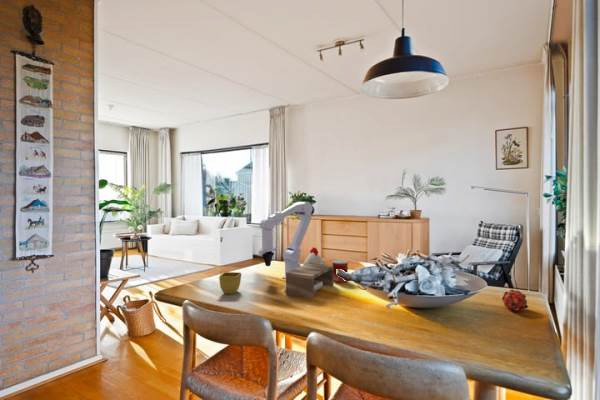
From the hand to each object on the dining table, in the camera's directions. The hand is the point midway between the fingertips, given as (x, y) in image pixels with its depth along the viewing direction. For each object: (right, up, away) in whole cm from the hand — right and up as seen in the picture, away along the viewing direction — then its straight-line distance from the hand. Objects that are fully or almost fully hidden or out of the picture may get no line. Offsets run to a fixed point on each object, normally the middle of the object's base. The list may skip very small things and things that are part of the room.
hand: (267, 265), depth 184 cm
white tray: (+19, -9, -15) cm, 26 cm away
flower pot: (-16, -10, -19) cm, 27 cm away
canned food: (+39, -8, -1) cm, 40 cm away
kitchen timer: (+26, -8, +21) cm, 34 cm away
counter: (+23, -9, -16) cm, 29 cm away
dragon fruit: (+104, -9, -47) cm, 114 cm away
